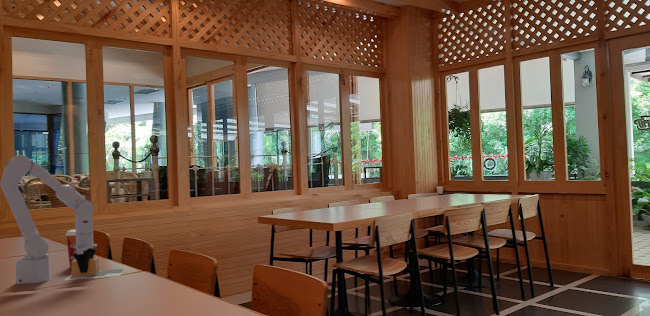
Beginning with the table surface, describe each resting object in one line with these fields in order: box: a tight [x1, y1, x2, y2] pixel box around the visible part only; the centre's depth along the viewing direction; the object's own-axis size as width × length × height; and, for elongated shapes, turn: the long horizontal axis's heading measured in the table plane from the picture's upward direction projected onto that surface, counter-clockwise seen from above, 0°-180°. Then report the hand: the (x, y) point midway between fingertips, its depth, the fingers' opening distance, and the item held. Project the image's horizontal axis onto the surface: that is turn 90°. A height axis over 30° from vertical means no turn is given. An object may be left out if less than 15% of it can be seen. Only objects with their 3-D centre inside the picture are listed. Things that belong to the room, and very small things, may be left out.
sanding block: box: [71, 257, 100, 276], centre depth 183 cm, size 8×5×5 cm, turn 102°
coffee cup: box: [65, 229, 77, 269], centre depth 196 cm, size 8×8×15 cm
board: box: [63, 268, 126, 281], centre depth 181 cm, size 18×12×1 cm, turn 102°
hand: (85, 270), depth 183 cm, fingers closed on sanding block, 5 cm apart
